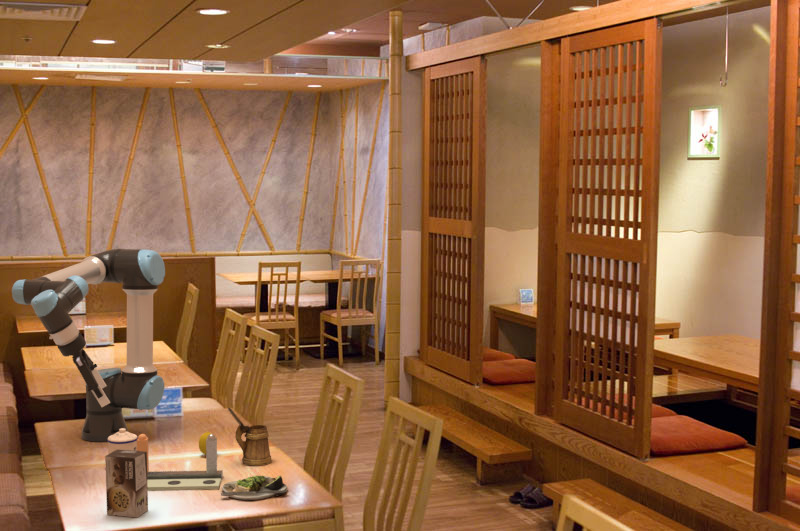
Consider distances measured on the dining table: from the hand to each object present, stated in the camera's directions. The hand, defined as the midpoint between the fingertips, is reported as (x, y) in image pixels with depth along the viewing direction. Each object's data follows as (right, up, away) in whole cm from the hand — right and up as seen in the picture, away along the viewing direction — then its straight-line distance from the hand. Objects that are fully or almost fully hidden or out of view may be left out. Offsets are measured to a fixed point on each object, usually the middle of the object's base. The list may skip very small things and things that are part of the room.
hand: (104, 396), depth 289 cm
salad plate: (+49, -25, -17) cm, 57 cm away
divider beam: (+23, -24, -7) cm, 34 cm away
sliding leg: (+14, -21, -8) cm, 27 cm away
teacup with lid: (+3, -22, +8) cm, 24 cm away
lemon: (+28, -22, +18) cm, 39 cm away
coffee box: (+17, -26, -35) cm, 47 cm away
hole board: (+25, -24, -13) cm, 37 cm away
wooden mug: (+42, -23, +11) cm, 49 cm away
